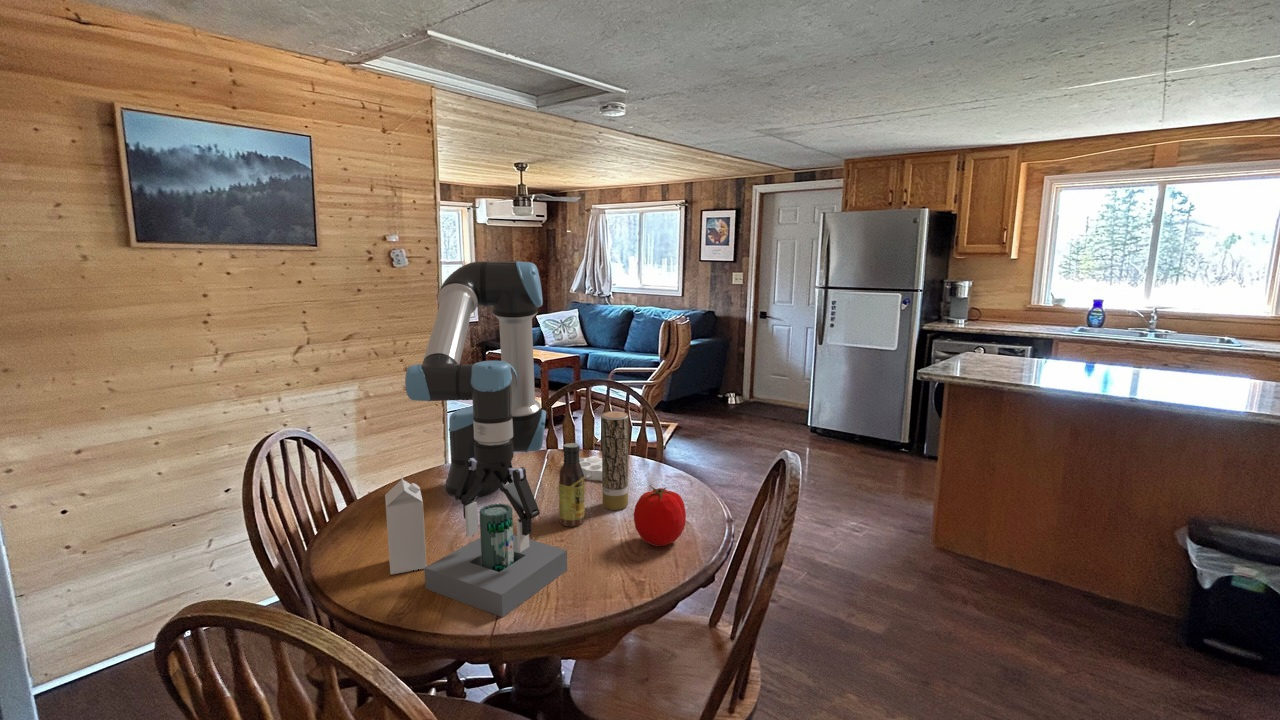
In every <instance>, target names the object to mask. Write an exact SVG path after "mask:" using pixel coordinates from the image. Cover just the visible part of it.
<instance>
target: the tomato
mask: <svg viewBox="0 0 1280 720" xmlns="http://www.w3.org/2000/svg"><path fill="white" fill-rule="evenodd" d="M667 487H668V486H665V487H664V488H663V487H659V488H655V487H653V486H652V485H650V488H651V489H652V490H651V491H646V492H644V493H643V494H642V495H640V497H639V499H638V500H637V502H636V504H635V505H634V510H633V522H634V526H635V530H636V532H637V533H638V535H639V537H640V538H641V539H642V540H643V541H644V542H646V543H648V544H650V545H653V546H655V547H661V546H667V545H669V544H672V543H674V542H675V541H676V540H677V539H678V538H680V536H681V535H682V534H683V532H684V530H685V527H686V523H687V522H686V519H687V514H686V513H687V512H686V506H685V502H684V501H683V499H682V497H681V496H680V495H679V493H677V492H675V491H672V490H668V489H667Z"/></svg>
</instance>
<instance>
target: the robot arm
mask: <svg viewBox="0 0 1280 720" xmlns="http://www.w3.org/2000/svg"><path fill="white" fill-rule="evenodd" d="M543 299H544V298H543V291H542V283H541V278H540V274H539V269H538V267H537V265H536V264H535V263H533V262H529V261H520V260H516V261H515V260H512V261H511V260H509V261H508V260H507V261H497V260H496V261H483V260H482V261H481V260H480V261H472V262H469V263H467V264H464V265H461V266H460V267H459V268H457V269H456V270H454V271H453V272H452V273H451V274H450V275H448V276H447V278H446V279H445V280H444V281H443V283H442V285H441V286H440V288H439V292H438V295H437V303H438V305H439V307H438V310H437V314H436V316H435V320H434V323H433V327H432V330H431V332H430V333H431V334H430V336H429V340H428V343H427V347H426V350H425V354H424V357H423V359H422V360H423V361H422V364H421V363H418V364H412V365H410V366H408V368H407V369H406V372H405V378H404V380H405V381H404V387H405V392H406V395H407V397H408V398H409V399H410V400H411V401H416V402H417V401H419V402H420V401H421V402H443V401H445V402H447V401H449V402H450V401H472V406H467V407H463V408H459V409H458V410H456V411H454V412H452V413H451V414H450V416H449V425H448V427H449V428H448V432H449V445H450V446H449V447H450V449H449V451H450V467H449V469H448V475H447V478H446V480H445V492H446V493H447V494H448V495H450V496H453V497H454V500H455V501H460V503H461V504H462V510H463V511H462V512H463V513H462V514H463V518H464V519H465V535H466V537H471V536H473V535H475V534H477V533H478V532H479V515H478V514H479V513H478V502H477V501H476V500H477V499H476V498H478V497H483V496H487V495H490V494H492V493H493V494H494V492H495V493H496V492H497V491H498V490H500V491H501V492H502V493H504V495H505V497H506V498H507V499H508V501H509V503H510V506H511V507H512V509H514V511H515V513H516V514H517V516H518V518H517V519H516V536H517V551H518V552H522V551H523V550H525V549H527V548H528V547H529V539H530V534H531V533H532V519H534V518H536V517H538V516H539V515H540V514H541V512H540V509H539V506H538V504H537V502H536V498H535V496H534V493H533V491H532V489H531V486H530V484H529V481H528V479H527V471H526V468H525V467H523V466H520V467H519V468H515V467H513V465H512V464H513V463H512V460H513V458H514V453H528V452H538V451H540V450H541V449H542V447H543V444H544V437H545V436H544V433H545V427H546V425H545V424H546V419H547V418H546V417H547V411H546V410H545V409H542V406H541V403H540V402H539V401H538V400H536V394H535V393H536V390H535V388H536V387H535V368H534V367H535V366H534V365H535V364H534V340H533V339H534V338H533V318H534V317H535V316H536V315H537V314H538V308H540V307H542V306H543V303H544V301H543ZM479 307H481V308H482V307H484V308H486V307H487V308H492V315H493V316H494V317H495V318H497V320H498V324H499V341H500V358H501V359H500V360H483V361H478V362H475V363H474V364H473V363H469V364H463V363H462V364H460V363H461V359H462V355H463V350H464V347H465V343H466V339H467V338H466V337H467V334H468V333H467V332H468V329H469V324H470V320H471V315H472V314H473V313H474V312H475V311H476V309H477V308H479Z"/></svg>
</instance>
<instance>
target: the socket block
mask: <svg viewBox="0 0 1280 720" xmlns="http://www.w3.org/2000/svg"><path fill="white" fill-rule="evenodd" d="M513 548H514V563H513V564H511V565H510V566H508V567H507V568H505V569H503V570H502V571H500V572H497V571H494V570H491V569H488V568H485V567H482V561H481V537H478V538H476V539H474V540H473V541H470V542H468V543H467V544H465V545H464V546H461V547H460V548H458V549H456V550H454V551H452V552H450V553H449V554H446V555H445V556H443V557H442V558H439V559H438V560H436V561H434V562H432V563H430V564H429V565H426V567H425V568H424V569H423V571H424V586H425V588H426V589H425V590H427V589H428V591H430V590H431V592H433V593H435V592H436V594H438V595H441V596H443V595H444V597H447V598H449V599H452V600H454V601H458V602H460V603H462V604H465V605H467V606H470V607H473V608H476V609H478V610H481V611H483V612H486V613H490V614H492V615H495V616H497V617H500V618H504V617H505V616H507V615H508V614H509V613H511V612H512V611H513V610H515V609H516V608H518V607H519V606H521V605H522V604H523V603H525V602H526V601H527V600H529V599H530V598H531V597H533V596H534V595H535V594H537V593H538V592H539V591H542V589H544V588H545V587H547V585H549V584H551V583H552V582H554V580H556V579H557V578H559V577H560V576H561V575H563V574H564V573H565V572H567V571H568V550H567V549H564V548H560V547H557V546H555V545H550V544H548V543H547V544H546V543H544V542H540V541H536V540H533V539H531V538H529V547H528V548H527V549H525V550H523V551H522V552H518V551H517V534H513Z"/></svg>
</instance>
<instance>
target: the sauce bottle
mask: <svg viewBox="0 0 1280 720" xmlns="http://www.w3.org/2000/svg"><path fill="white" fill-rule="evenodd" d="M562 449H563V450H562V452H563V464H562V466H561V467H560V469H559V473H558V474H559V476H558V477H559V482H558V514H559V522H560V524H561V525H562V526H565V527H577V526H580V525H582V524H583V523H584V521H585V518H584V517H585V478H584V473H583V471H582V468H581V465H580V462H579V461H580V460H579V458H580V451H581V449H580V444H579V443H576V442H571V443H570V442H569V443H568V442H567V443H565V444H563V446H562Z"/></svg>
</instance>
